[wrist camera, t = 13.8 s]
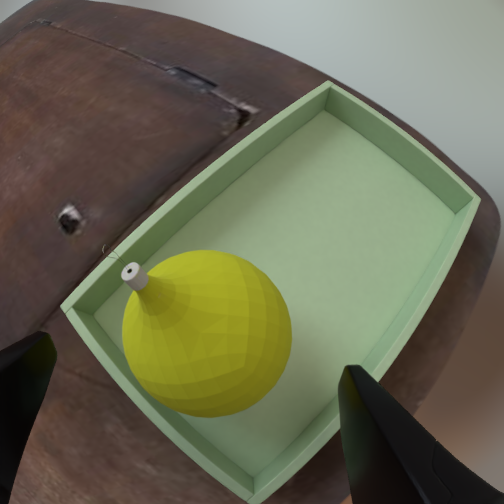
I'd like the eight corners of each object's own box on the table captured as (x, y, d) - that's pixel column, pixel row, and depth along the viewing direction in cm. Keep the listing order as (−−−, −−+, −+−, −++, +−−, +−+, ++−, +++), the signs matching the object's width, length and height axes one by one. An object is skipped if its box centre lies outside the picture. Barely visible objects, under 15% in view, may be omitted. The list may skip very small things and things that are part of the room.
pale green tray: (459, 218, 20) (481, 199, 17) (253, 486, 13) (254, 508, 10) (320, 107, 23) (328, 79, 20) (85, 315, 17) (59, 306, 14)
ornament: (156, 274, 17) (72, 177, 8) (280, 277, 17) (320, 172, 8) (149, 399, 15) (38, 430, 5) (281, 406, 15) (330, 464, 5)
